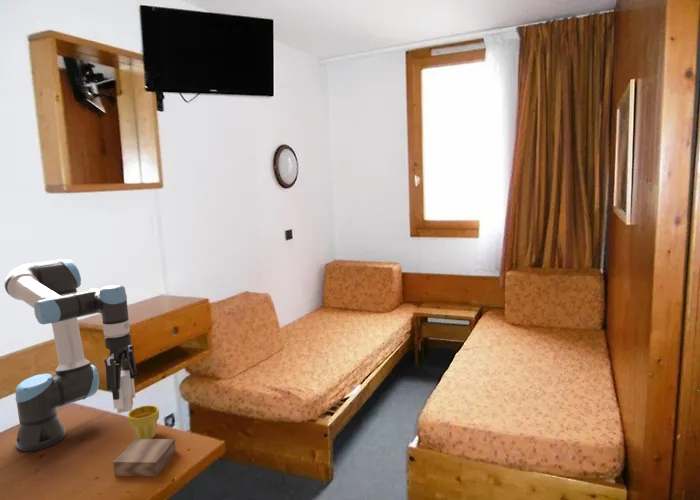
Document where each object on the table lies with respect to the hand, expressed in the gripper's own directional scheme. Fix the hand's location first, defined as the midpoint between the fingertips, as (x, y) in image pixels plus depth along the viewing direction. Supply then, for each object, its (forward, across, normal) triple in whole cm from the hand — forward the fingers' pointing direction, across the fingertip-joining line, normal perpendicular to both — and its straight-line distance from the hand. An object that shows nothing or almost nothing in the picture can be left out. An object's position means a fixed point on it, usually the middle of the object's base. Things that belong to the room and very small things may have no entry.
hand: (125, 402), depth 161 cm
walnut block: (+22, +1, -4) cm, 23 cm away
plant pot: (+22, +18, +4) cm, 28 cm away
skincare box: (+2, 0, 0) cm, 2 cm away
